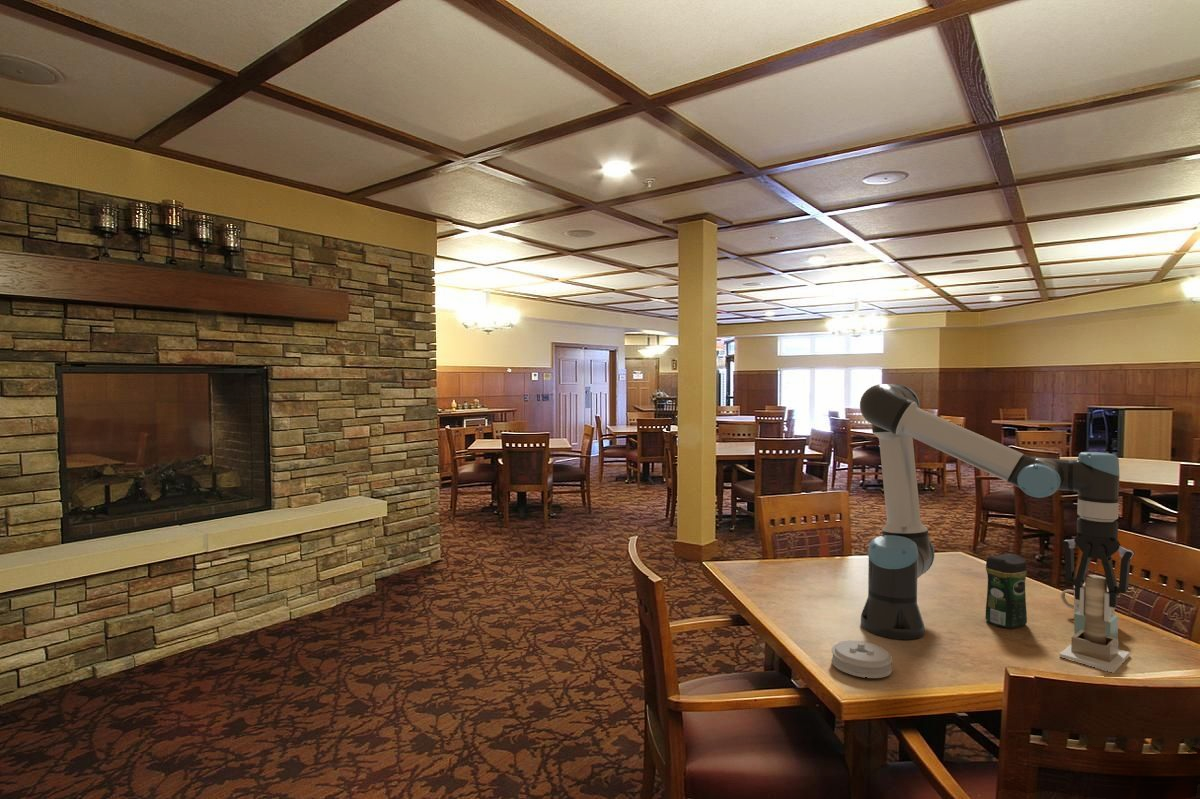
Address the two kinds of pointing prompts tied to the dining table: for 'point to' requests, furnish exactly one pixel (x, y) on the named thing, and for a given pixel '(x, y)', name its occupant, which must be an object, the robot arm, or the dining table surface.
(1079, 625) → the pen pot
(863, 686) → the dining table surface
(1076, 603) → the teacup with lid
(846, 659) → the lid
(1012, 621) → the coffee jar
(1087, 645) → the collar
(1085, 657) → the board
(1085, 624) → the dowel
